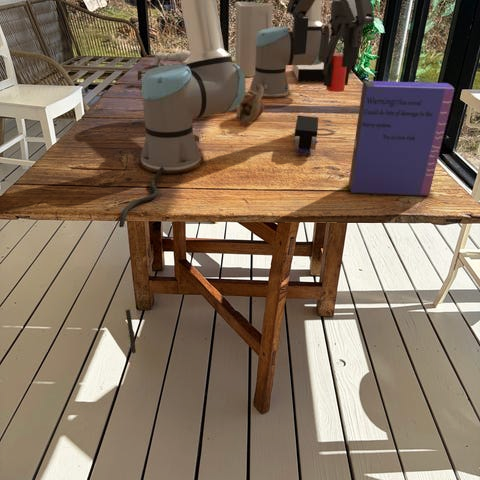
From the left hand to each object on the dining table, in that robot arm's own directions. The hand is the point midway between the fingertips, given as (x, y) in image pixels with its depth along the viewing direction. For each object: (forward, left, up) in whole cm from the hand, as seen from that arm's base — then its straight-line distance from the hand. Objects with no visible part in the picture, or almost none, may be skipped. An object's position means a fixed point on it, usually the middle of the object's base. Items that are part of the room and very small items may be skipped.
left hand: (322, 59), depth 90 cm
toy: (+130, +66, -30) cm, 149 cm away
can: (+56, -3, -18) cm, 59 cm away
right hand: (+56, -3, -17) cm, 59 cm away
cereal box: (+9, -18, -30) cm, 36 cm away
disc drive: (+126, +6, -30) cm, 130 cm away
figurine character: (+32, +3, -30) cm, 44 cm away
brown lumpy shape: (+54, +23, -30) cm, 66 cm away
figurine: (+96, +61, -30) cm, 118 cm away
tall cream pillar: (+126, +34, -30) cm, 134 cm away
